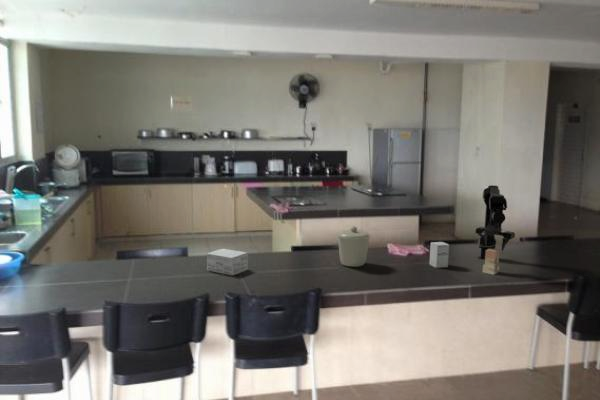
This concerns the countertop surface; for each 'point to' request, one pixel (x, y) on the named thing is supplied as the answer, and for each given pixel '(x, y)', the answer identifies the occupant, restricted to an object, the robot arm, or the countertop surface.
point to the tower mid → (491, 262)
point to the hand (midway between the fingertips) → (493, 248)
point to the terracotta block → (492, 254)
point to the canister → (353, 247)
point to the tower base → (490, 269)
